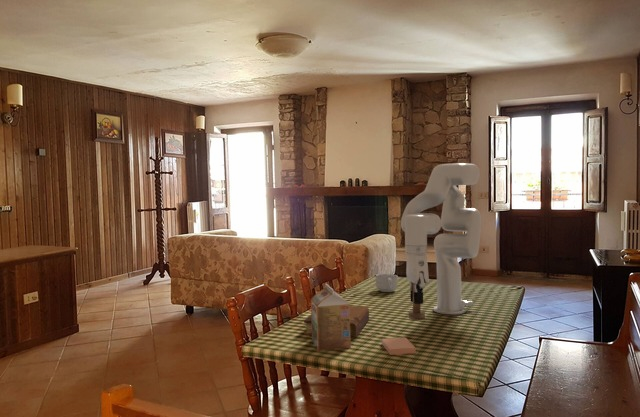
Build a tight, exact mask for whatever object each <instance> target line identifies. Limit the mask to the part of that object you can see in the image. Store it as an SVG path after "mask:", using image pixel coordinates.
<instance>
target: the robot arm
mask: <svg viewBox="0 0 640 417" xmlns="http://www.w3.org/2000/svg"><path fill="white" fill-rule="evenodd" d="M480 177H481V173H480V168H479V166H478V165H476V164H474V163H464V162H462V163H461V162H458V163H457V162H455V163H442V164H438V165H436V166H435V167H434V168H433V169H432V170H431V174H430V176H429V178H428V182H427V184H426V187H425V189H424V190H423V191H422V192H420V193H419V194H417V195H416V196H415V197H414V198H412V199H411V200H410V201H409V202H408V203H407V204H406V206H405V208H404V211H403V212H402V216H401V219H400V227H401V229H402V232H404V238H405V239H404V255H406V270H405V271H406V272H405V274H406V279H407V281H408V282H409V289H410V302H412V303H413V283H414V286H415V292H414V304H420V305H422V304H424V289H425V287H426V284H427V285H428V284H429V282H430V280H429V265H428V257H427V255H428V235H435V234H437V233H439V231H441V228H442V229H443V230H444V231H447V232H446V233H440V234H438V235H436V236H435V238H434V240H433V248H434V254H435V262H436V298H437V299H436V300H437V301H436V302H437V305H435V306H433V311H434V312H435V313H438V314H442V315H462V314H465V313H466V311H467V310H466V307H468V306H469V307H473V306H474V302H473V301H472V300H468V301H467V300H463V299H462V267H461V265H460V263H459V262H458V260H457V259H458V258H461V259H474V258H476V257H477V256H478V254H479V251H480V243H481V234H482V233H481V232H482V223H483V221H482V214H481V211H480V210H478V209H476V208H474V207H471V208H470V207H469V208H468V207H465V202H466V199H465V198H466V197H465V195H464V193H463V192H462V191H461V190H460V189H459V187H458V186H473V185H476V184H478V182H479V180H480ZM441 204H442V209H441V216H439V215H438V214H435V213H431V212H429V213H426V212H424V211H425V210H428V209H431V208H434V207H436V206H439V205H441ZM449 232H463V233H449ZM465 232H466V233H465ZM418 282H420V283H418ZM417 285H419V286H418V287H417Z"/></svg>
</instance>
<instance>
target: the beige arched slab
mask: <svg viewBox="0 0 640 417" xmlns="http://www.w3.org/2000/svg"><path fill="white" fill-rule="evenodd" d="M369 319H370V308H368V306H361V305H357V306H356V305H350V339H356V338H357V337H358V336H359V334H360V332H361V331H362V330H363V329H364V327H365V325H366V324H367V323H368V321H369ZM303 324H305V326H306V327H305V330H306V332H305V333H304V334H303V335H304V336H312V322H311V314H309V315H308V316H307V317H306V318H305V319H304V320H303Z"/></svg>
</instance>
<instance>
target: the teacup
mask: <svg viewBox="0 0 640 417" xmlns="http://www.w3.org/2000/svg"><path fill="white" fill-rule="evenodd" d="M398 277H399V276H398V275H396V274H391V273H380V274H378V273H377V274H375V287H376V289H377V290H378V291H379V292H383V293H393V292H394V291H395V290H396V289H397V287H398V282H399V281H398Z"/></svg>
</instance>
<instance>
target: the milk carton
mask: <svg viewBox="0 0 640 417" xmlns="http://www.w3.org/2000/svg"><path fill="white" fill-rule="evenodd" d="M324 286H325V288H323V289H321V290H320V291H318V292H317V293H315V294H314V295H313V296H312V297H311V298H310V309H311V310H310V312H311V313H310V315H311V322H312V335H311V341H312V343H313V344H314V346H315V348H316V349H317V351H319V352H320V351H330V350H341V349H350V348H351V347H352V346H351V340H352V338H350V306H351V304H350V303H349V302H348V301H347V300H346V299H344V298H343V297H342V296H341V295H340V294H339V293H337V291H335V290H334V288H332V287H331V286H330V285H329V284H327V283H325V285H324Z"/></svg>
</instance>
